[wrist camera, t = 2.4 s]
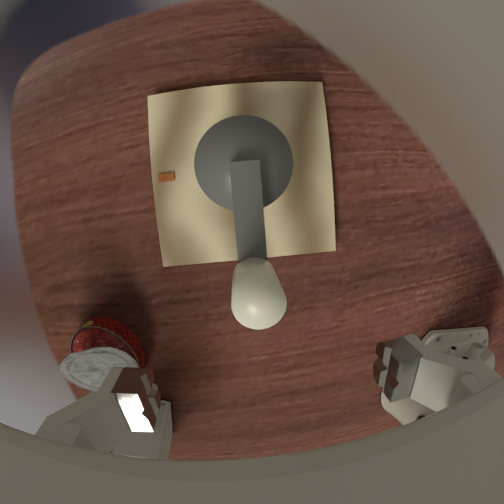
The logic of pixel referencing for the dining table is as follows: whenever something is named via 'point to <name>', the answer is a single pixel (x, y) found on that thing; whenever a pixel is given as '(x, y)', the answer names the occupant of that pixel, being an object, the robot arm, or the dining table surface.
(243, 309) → the white knob lever
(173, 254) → the mount board
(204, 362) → the dining table surface
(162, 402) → the skincare box
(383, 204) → the dining table surface
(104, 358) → the canned food
